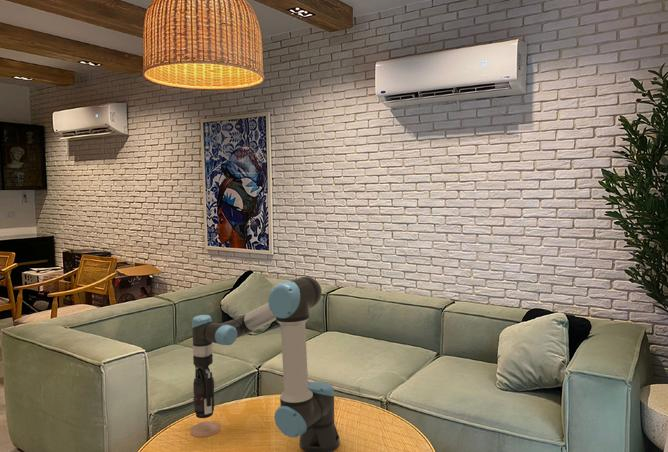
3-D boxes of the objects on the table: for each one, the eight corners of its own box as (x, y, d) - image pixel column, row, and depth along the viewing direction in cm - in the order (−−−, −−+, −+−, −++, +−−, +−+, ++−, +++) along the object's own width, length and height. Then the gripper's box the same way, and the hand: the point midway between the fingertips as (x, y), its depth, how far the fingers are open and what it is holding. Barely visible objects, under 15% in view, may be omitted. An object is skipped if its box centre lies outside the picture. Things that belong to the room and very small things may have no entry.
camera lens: (212, 419, 197) (210, 382, 196) (191, 419, 198) (190, 382, 196) (217, 410, 205) (216, 374, 204) (197, 410, 206) (196, 374, 205)
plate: (225, 431, 200) (225, 429, 200) (195, 440, 194) (195, 438, 194) (214, 420, 210) (214, 418, 210) (186, 428, 204) (186, 426, 204)
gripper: (221, 359, 193) (222, 416, 195) (203, 345, 210) (205, 398, 212) (202, 363, 189) (204, 421, 191) (185, 349, 206) (187, 402, 208)
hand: (204, 409), depth 201 cm, fingers closed on camera lens, 8 cm apart
